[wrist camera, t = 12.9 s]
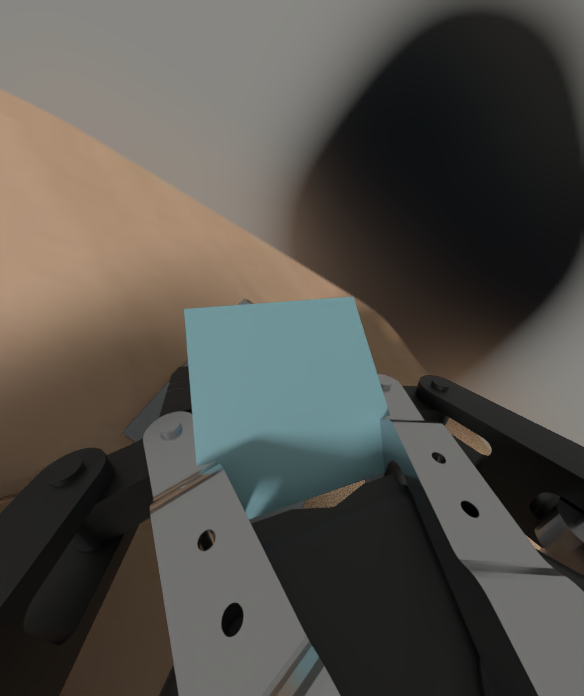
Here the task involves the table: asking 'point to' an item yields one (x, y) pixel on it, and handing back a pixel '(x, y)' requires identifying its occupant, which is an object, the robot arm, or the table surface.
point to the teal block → (284, 398)
